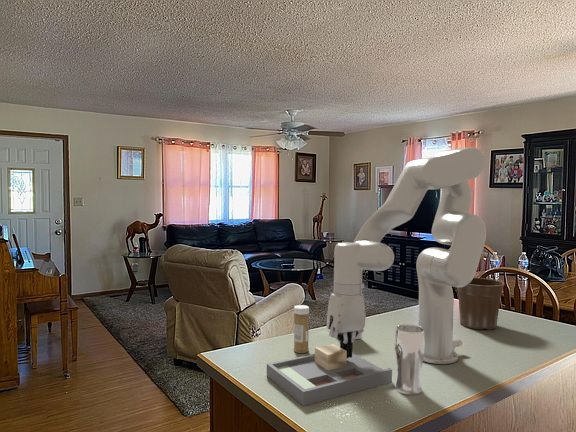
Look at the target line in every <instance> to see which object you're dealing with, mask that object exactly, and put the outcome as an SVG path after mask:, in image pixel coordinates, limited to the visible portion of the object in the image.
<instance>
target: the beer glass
mask: <svg viewBox="0 0 576 432" xmlns="http://www.w3.org/2000/svg"><path fill="white" fill-rule="evenodd" d="M394 333H395V335H394V355H395V362H396V371H397V375H396V376H397V377H396V383H395V390H396V391H397V392H398V393H400V394H402V395H406V396H418V395H420V394H422V391H423V389H422V382H421V372H422V367H423V363H424V361H423V359H424V352H425V336H424V329H423V328H422V327H420V326H418V325H417V324H416V325H415V324H406V323H405V324H398V325H396V326H395V332H394Z"/></svg>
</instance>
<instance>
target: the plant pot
mask: <svg viewBox="0 0 576 432" xmlns="http://www.w3.org/2000/svg"><path fill="white" fill-rule="evenodd" d="M504 286H505V282H503V281H501V280H497V279H492V278H491V279H490V278H484V277H474V278H473V279H472V281H471V282H470V283H469V284H468V285H466V286H464V287H456V291H457V295H458V309H459V323H460V324H461V325H462V326H463V327H466V328H469V329H472V330H473V329H474V330H484V329H486V330H488V331H489V330H495V329H497V327H498V326H497V325H498V319H499V318H498V316H499V309H500V304H501V296H502V295H503V287H504Z"/></svg>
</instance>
